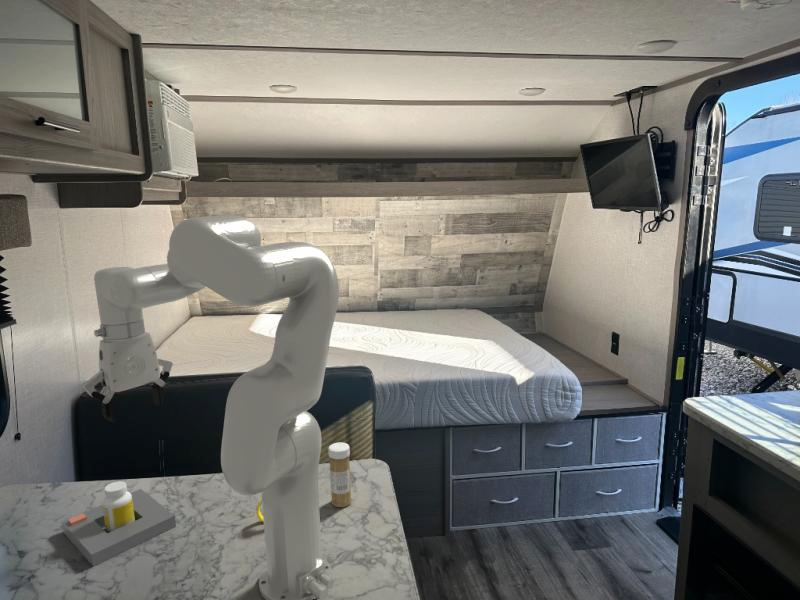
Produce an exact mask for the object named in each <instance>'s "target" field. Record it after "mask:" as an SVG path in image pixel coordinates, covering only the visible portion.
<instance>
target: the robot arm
mask: <svg viewBox="0 0 800 600" xmlns="http://www.w3.org/2000/svg"><path fill="white" fill-rule="evenodd" d="M93 281H94V289H95V295H96V300H97V309H98V315H99V320H100V324H99V328H98V329H95V330H94V332H93V334H94V336H95V338H97V337H101V339H100V341H99V346H98V347H99V349H98V366H99V371H98V372H97V373H95V374H94V375H93V376H91V377H90V378H89V379H88V380H86V381H85V382H84V383H83V384H82V385H81V387H82V388H83V390H85V392H86V393H87V394H88V395H89V397H91V398H94V399H95V400H97V401H99V402H100V405H101V412H102V416H103V418H104V419H106V420H107V421H109V422H111V423H114V422H116V420H117V419H116V413H115V412H116V411H115V406H114V401H111V399H112V398H113V397H114V395H115V393H121V392H123V391H126V390H130V389H134V388H137V387H141V386H145V385H147V384H151V383H152V385H151V387H150V388H151V395H152V403H153V404H154V405H157V406H159V407H163V406H164V400H165V393H164V391H165V390H164V386H165V385H166V382H167V380H168V379H169V377H170V372H171V370H172V368H173V365H174V363H173V362H172V361H169V360H164V359H161V358H158V354H157V351H156V348H155V344H154V341H153V338H152V335H151V333H150V332H146V330H145V329H146V328H145V321H144V315H143V309H147V308H151V307H155V306H159V305H164V304H168V303H172V302H176V301H179V300H182V299H185V298H187V297H189V296H192V295H194V294H197V293H198V292H200V291H202V290H204V289H205V288H208V289H209V290H211V291H213V292H214V293H216V294H217V295H219V296H221V297H222V298H224V299H225V300H227V301H229V302H231V303H233V304H235V305H238V306H242V307H248V308H252V307H253V308H254V307H255V308H256V307H260V306H264V305H266V304H271V303H274V302H275V303H276V302H277V301H282V300H284V299H289V302H288V304H287V306H286V308H285V310H284V312H283V313H282V314H281V318H280V320H279V322H278V323H277V327H276V330H275V334H274V335H275V337H274V345H273V351H272V354H271V356H270V358H269V360H268V361H267V362H266V363H264V364H262V365H260V366H258V367H255V368H252V369H250V370H249V371H246V372H244V373H243V374H241V375H240V376H239V377H238V378H237V379H236V380H235V381H234V382H233V384H232V386H231V388H229V391H228V395H227V398H226V405H225V409H224V411H225V413H224V422H223V429H222V430H223V431H222V438H221V446H220V447H221V449H220V465H221V470H222V475H223V476H224V477H223V478H224V479H225V481H226V483H227V484H228V486H229V487H230V488H231V489H232V490H233V491H234V492H235V493H237V494H239V495H243V496H255V495H257V494H260V493H261V500H262V504H261V505H262V516H263V521H264V522H263V531H264V533H263V534H264V544H265V557H266V566H265V567H264V569H263V570H262V571H261V573H260V576H259V579H258V587H259V593H260V595H261V596H262V597H263V598H264V599H265V600H313V599H314V600H315V599H318V600H326V599H327V598H328V596H329V589H328V588H331V587H333V585H334V582H335V581H334V579H333V578H332V567H331V565H330V563H329V562H328V560H327V559H326V558H325V557H323V554H322V535H321V534H322V533H321V519H320V516H321V515H320V502H319V501H320V500H319V499H320V498H319V497H320V494H319V493H320V491H319V469H320V467H319V466H320V458H321V453H322V442H323V441H322V440H323V439H322V431H321V427H320V425H319V423H318V421H317V420H316V418H315V417H314V415H312V413H310V412H309V411H308V410H311V408H313V407H314V406H315V405H316V404H317V403H318V401H319V399H320V398H321V395H322V391H323V385H324V379H325V374H326V373H325V372H326V368H327V363H328V362H327V361H328V357H329V356H328V355H329V349H330V341H331V335H332V332H333V327H334V322H335V319H336V315H337V309H338V304H339V299H340V285H339V284H340V283H339V279H338V275H337V272H336V269H335V267H334V265H333V263H332V261H331V260H330V258H329V256H328V255H327V254H326V253H325V252H324V251H323V250H322V249H320V248H319V247H317V245H316V246H315V245H314V244H311V243H308V242H303V241H284V242H278V243H272V244H267V245H266V244H265V245H262V237H261V232H260V230H259V228H258V227H257V226H256V224H254V222H252V220H250V219H248V218H246V217H244V216H242V215H241V216H240V215H236V214H223V215H210V216H208V215H207V216H195V217H194V216H193V217H191V218H190V217H189V218H187V219H184V220H183V221H180V222H179V223H178V224H177V225H176V226H175V227H174V229H173V230H172V231H171V234H170V236H169V243H168V251H167V256H166V263H164V264H155V265H150V266H149V265H148V266H144V267H143V266H142V267H137V268H133V267H129V266H116V267H107V268H102V269H99V270H97V271H96V272H95V274H94V277H93ZM160 366H161V367H162V371H161V369H160ZM99 383H101V386H102V387H103V388H102V389H101V391H100V392H98V390H97V389H96V388H95V386H96V385H98V384H99Z"/></svg>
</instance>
